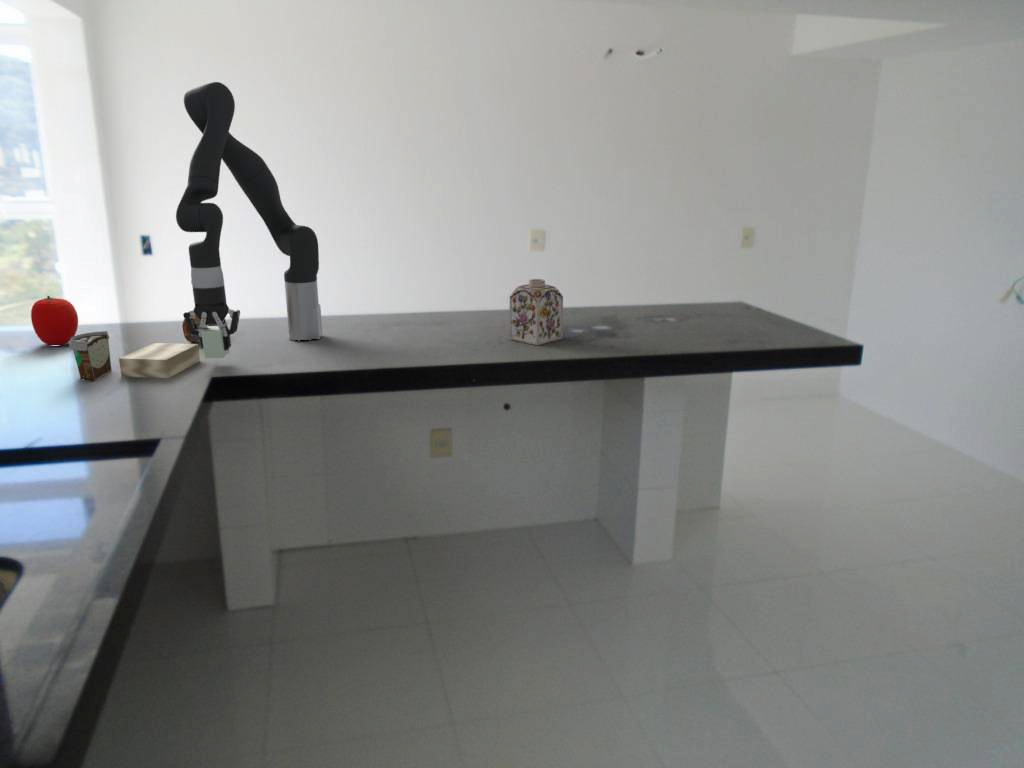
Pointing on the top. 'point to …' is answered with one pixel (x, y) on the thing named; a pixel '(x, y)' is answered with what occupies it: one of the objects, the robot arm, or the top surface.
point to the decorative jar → (536, 313)
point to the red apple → (54, 320)
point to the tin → (188, 334)
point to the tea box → (213, 342)
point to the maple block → (159, 360)
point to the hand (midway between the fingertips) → (216, 349)
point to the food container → (92, 354)
